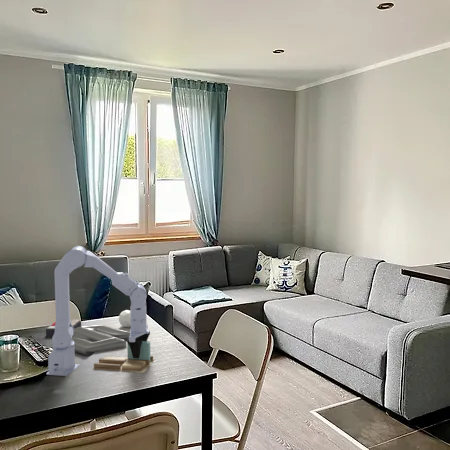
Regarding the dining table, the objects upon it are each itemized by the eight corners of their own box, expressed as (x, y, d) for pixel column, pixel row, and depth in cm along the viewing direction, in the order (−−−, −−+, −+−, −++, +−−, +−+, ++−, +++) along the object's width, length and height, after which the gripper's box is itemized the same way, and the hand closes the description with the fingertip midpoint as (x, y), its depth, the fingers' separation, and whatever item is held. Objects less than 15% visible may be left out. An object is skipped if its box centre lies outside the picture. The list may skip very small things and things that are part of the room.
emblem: (48, 342, 180) (77, 321, 207) (48, 355, 180) (78, 332, 208) (118, 345, 177) (139, 323, 205) (119, 358, 177) (139, 334, 205)
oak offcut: (140, 368, 162) (140, 366, 162) (121, 367, 164) (121, 365, 163) (145, 363, 167) (145, 361, 167) (126, 362, 168) (126, 359, 168)
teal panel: (148, 363, 169) (148, 343, 169) (127, 362, 171) (127, 342, 170) (150, 361, 171) (150, 341, 171) (129, 360, 172) (129, 340, 172)
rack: (144, 375, 161) (144, 368, 161) (92, 371, 164) (92, 364, 164) (154, 362, 173) (154, 355, 173) (106, 358, 176) (106, 352, 176)
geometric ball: (130, 333, 214) (132, 322, 209) (114, 326, 215) (116, 315, 210) (137, 321, 220) (139, 310, 215) (122, 314, 221) (124, 304, 216)
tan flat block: (140, 371, 162) (140, 368, 162) (121, 369, 164) (121, 367, 164) (145, 365, 167) (145, 363, 167) (126, 364, 168) (126, 362, 168)
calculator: (81, 318, 216) (71, 327, 201) (81, 328, 216) (71, 337, 201) (57, 318, 216) (45, 327, 201) (57, 328, 216) (45, 337, 201)
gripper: (142, 325, 162) (142, 363, 163) (155, 313, 176) (155, 348, 177) (123, 324, 163) (123, 361, 164) (137, 312, 177) (137, 347, 178)
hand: (139, 354), depth 171 cm, fingers open, 5 cm apart
